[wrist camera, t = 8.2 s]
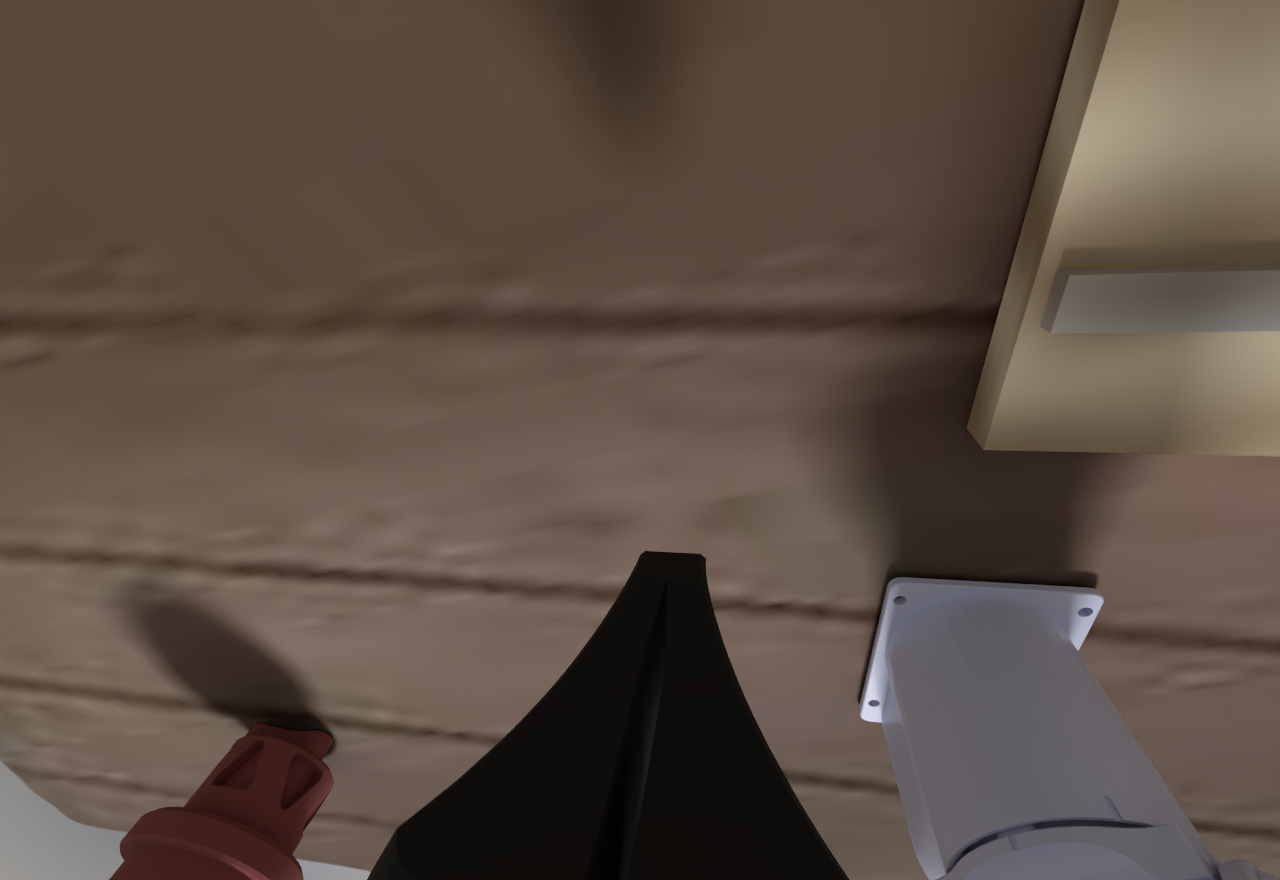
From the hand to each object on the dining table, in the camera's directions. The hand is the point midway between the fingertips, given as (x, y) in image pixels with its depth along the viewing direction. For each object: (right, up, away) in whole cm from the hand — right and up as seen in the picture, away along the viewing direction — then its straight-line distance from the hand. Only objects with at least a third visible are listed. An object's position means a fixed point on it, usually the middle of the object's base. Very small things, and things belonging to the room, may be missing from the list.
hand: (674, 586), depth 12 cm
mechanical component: (-25, -18, +26) cm, 40 cm away
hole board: (+22, +9, +2) cm, 24 cm away
